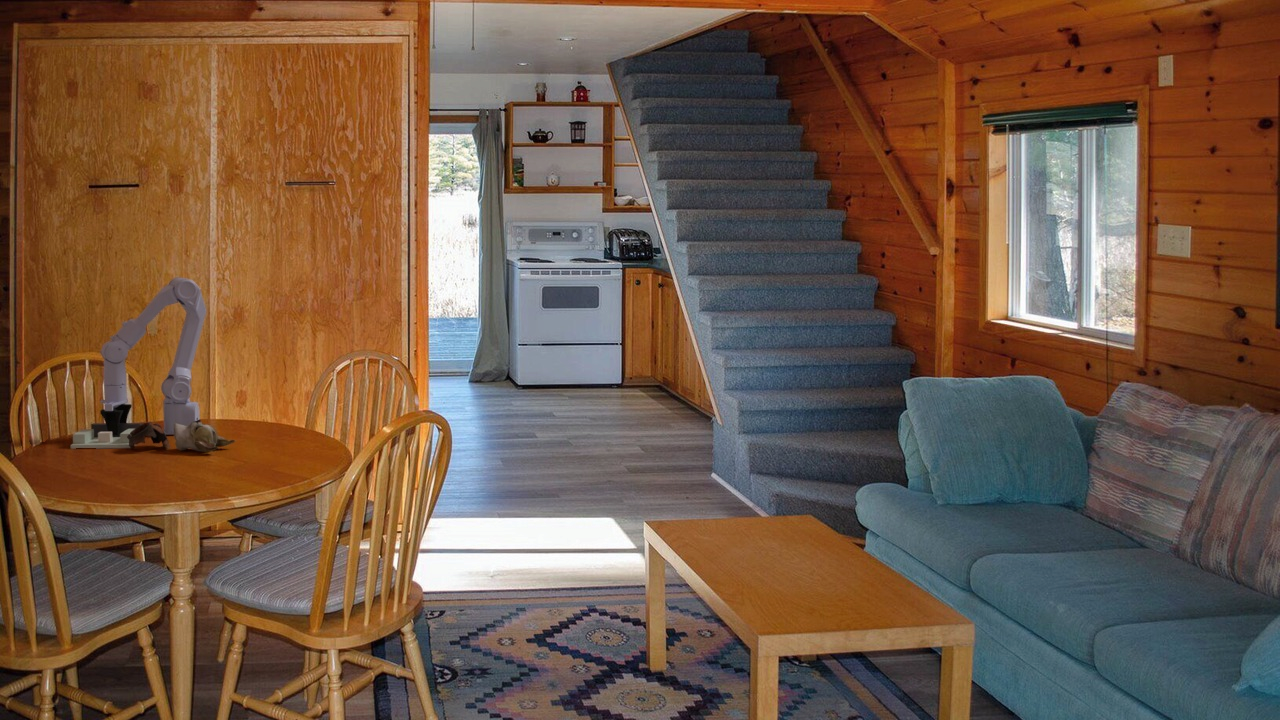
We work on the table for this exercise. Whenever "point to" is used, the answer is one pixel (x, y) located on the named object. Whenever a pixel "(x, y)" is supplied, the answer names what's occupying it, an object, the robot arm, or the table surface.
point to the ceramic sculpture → (198, 437)
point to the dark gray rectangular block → (122, 427)
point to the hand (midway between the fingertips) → (117, 432)
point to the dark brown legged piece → (150, 431)
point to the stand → (100, 439)
